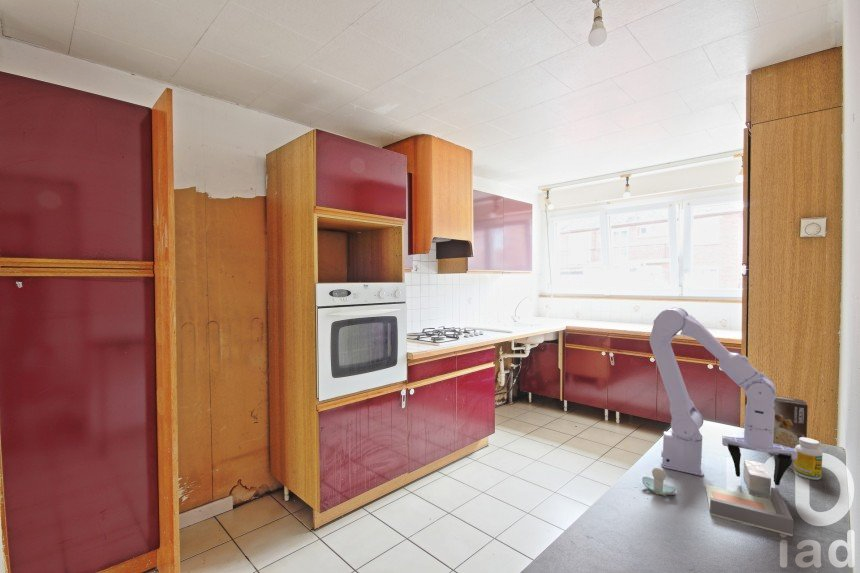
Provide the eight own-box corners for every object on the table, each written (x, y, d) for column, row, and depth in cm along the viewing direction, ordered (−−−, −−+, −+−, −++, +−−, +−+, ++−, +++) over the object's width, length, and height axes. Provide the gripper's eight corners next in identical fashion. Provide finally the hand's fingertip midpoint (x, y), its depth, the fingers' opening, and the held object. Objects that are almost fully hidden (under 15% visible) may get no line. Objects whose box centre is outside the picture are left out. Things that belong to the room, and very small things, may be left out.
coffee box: (802, 452, 122) (805, 399, 122) (806, 460, 117) (809, 405, 116) (763, 444, 128) (765, 394, 127) (765, 451, 122) (767, 399, 122)
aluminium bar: (770, 499, 97) (771, 478, 97) (749, 494, 99) (749, 474, 99) (762, 482, 105) (763, 463, 105) (743, 478, 107) (744, 459, 107)
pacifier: (649, 481, 105) (639, 488, 101) (650, 457, 105) (640, 464, 101) (680, 494, 99) (671, 502, 95) (682, 469, 99) (672, 476, 95)
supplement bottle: (797, 468, 112) (799, 434, 112) (823, 476, 108) (825, 441, 107) (790, 473, 109) (792, 438, 109) (817, 482, 105) (819, 446, 104)
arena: (710, 514, 90) (710, 499, 90) (705, 485, 103) (705, 472, 102) (792, 536, 83) (793, 520, 83) (776, 502, 95) (777, 488, 95)
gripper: (725, 425, 102) (723, 478, 102) (802, 438, 94) (799, 495, 95) (722, 416, 108) (720, 466, 108) (793, 427, 100) (791, 481, 101)
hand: (756, 479), depth 102 cm, fingers open, 7 cm apart
